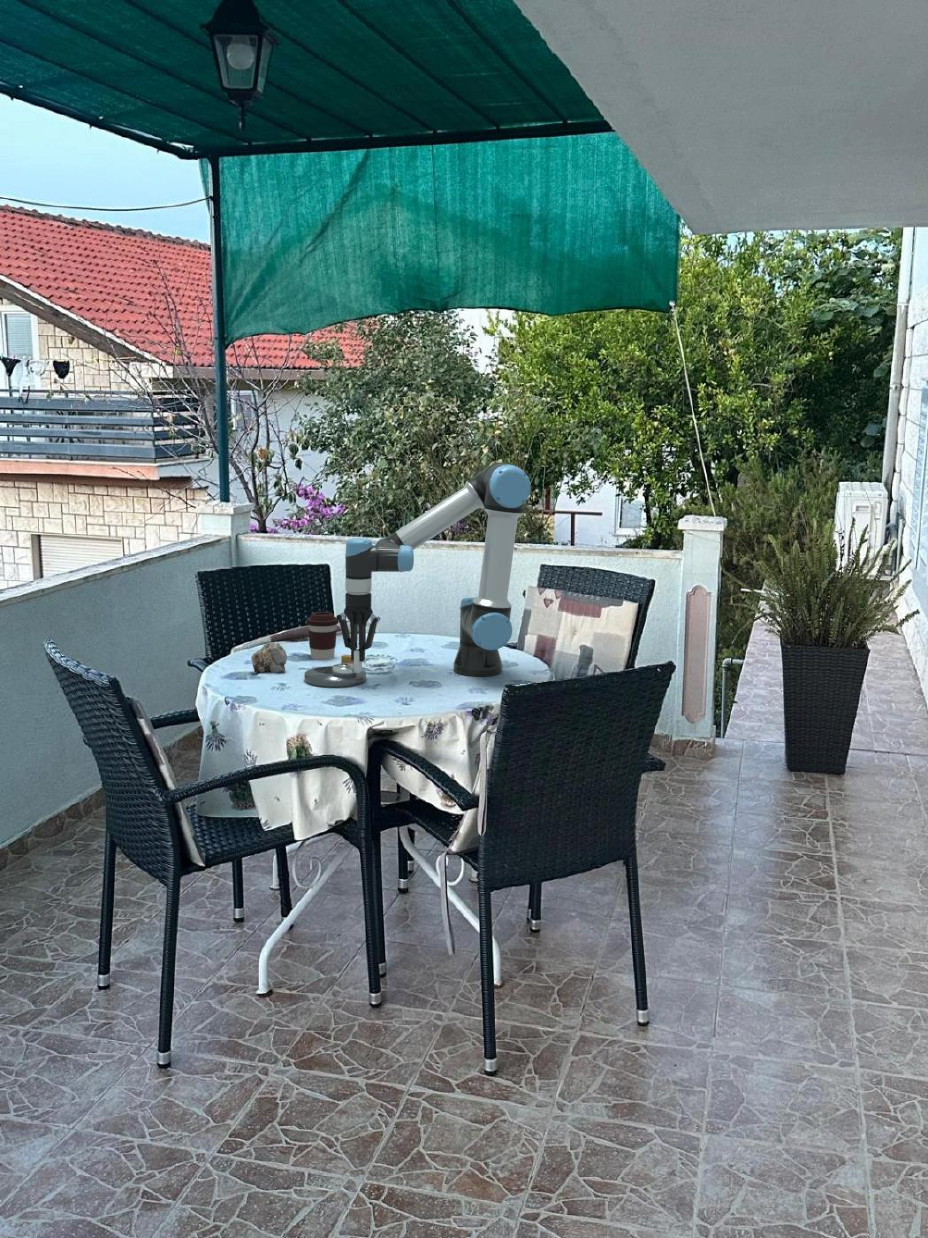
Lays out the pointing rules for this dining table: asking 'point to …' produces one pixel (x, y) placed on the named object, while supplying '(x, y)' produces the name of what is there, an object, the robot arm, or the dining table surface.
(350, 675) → the cover
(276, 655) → the rock
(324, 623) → the coffee cup
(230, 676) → the dining table surface
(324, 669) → the turntable
